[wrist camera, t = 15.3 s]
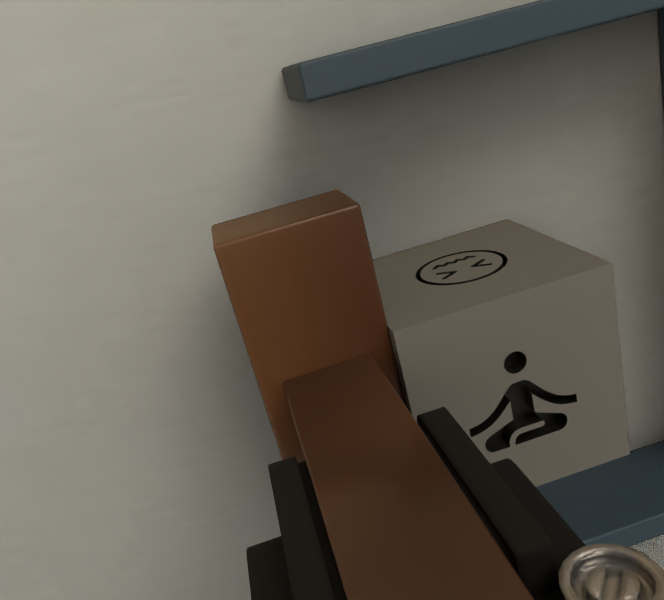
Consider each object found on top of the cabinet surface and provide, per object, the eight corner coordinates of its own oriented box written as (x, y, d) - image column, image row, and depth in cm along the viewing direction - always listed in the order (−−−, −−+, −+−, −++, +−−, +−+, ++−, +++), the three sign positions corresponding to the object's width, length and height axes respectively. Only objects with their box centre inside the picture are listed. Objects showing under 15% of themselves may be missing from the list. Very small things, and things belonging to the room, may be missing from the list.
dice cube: (381, 418, 20) (437, 521, 15) (343, 268, 18) (392, 331, 13) (530, 369, 20) (630, 454, 15) (507, 219, 18) (612, 262, 14)
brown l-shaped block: (314, 542, 18) (461, 1102, 8) (209, 216, 15) (241, 493, 5) (410, 508, 19) (665, 1006, 9) (329, 182, 15) (602, 371, 5)
